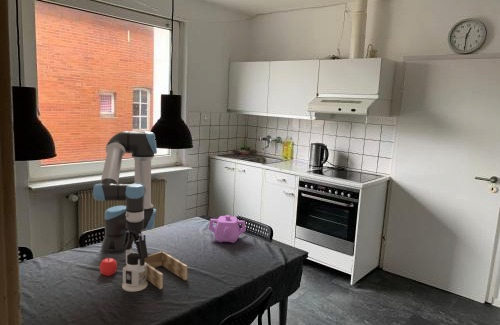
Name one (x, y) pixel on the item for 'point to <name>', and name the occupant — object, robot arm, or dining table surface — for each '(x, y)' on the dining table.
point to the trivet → (135, 287)
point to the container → (133, 271)
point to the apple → (108, 266)
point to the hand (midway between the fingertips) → (135, 267)
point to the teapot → (227, 228)
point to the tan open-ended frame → (166, 262)
